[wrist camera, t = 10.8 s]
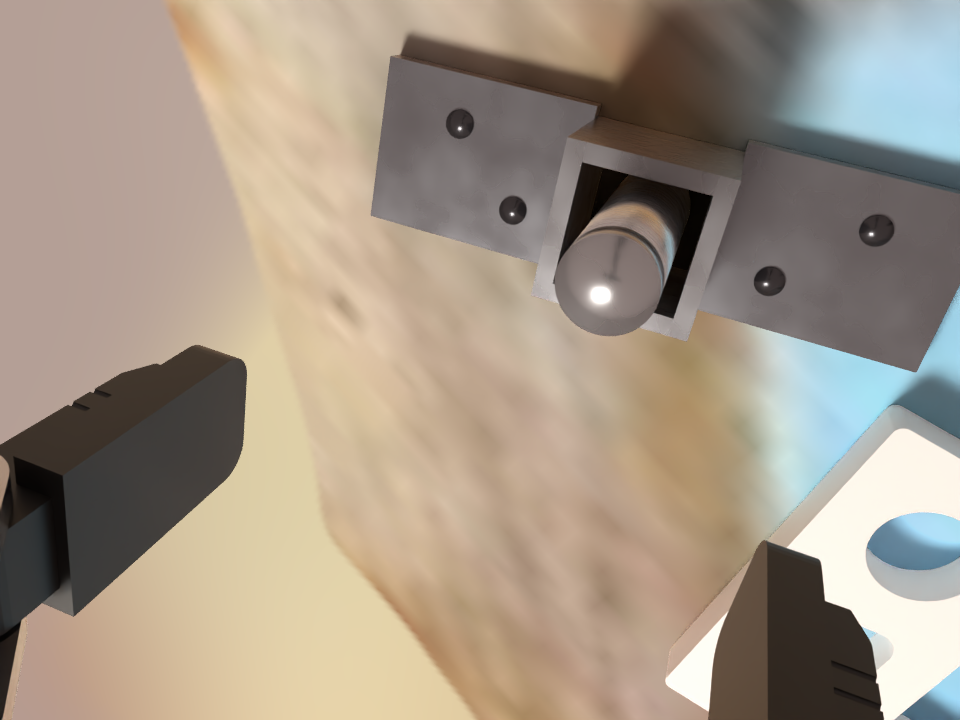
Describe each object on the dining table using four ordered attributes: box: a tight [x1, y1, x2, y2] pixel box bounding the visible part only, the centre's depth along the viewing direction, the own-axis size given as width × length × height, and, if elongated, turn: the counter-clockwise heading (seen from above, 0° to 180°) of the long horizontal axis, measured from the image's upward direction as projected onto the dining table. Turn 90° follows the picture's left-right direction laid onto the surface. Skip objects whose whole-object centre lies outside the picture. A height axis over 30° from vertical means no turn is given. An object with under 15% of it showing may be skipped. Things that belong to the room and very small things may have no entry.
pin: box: [555, 175, 691, 336], centre depth 29 cm, size 3×3×11 cm
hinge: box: [371, 55, 960, 372], centre depth 31 cm, size 7×24×6 cm, turn 80°
